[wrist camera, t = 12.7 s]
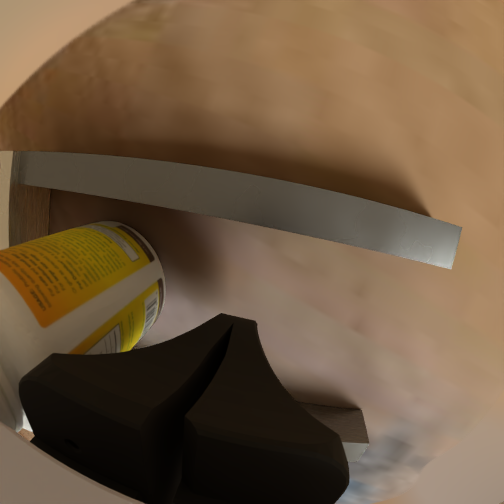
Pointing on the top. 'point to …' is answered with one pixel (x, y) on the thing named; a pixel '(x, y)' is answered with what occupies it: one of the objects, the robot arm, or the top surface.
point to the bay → (228, 207)
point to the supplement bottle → (73, 301)
